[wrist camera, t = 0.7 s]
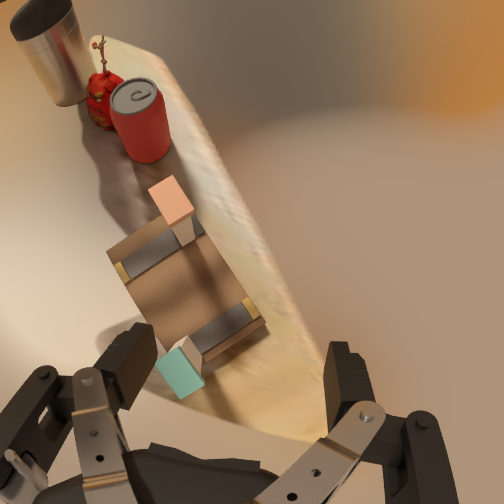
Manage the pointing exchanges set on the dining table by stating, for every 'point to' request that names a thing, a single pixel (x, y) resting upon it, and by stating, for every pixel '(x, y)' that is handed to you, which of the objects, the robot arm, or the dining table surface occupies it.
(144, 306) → the wooden slider base
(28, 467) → the robot arm
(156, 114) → the beer can
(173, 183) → the white tall bar
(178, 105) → the dining table surface
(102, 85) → the red clay folk toy
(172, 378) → the teal slider
